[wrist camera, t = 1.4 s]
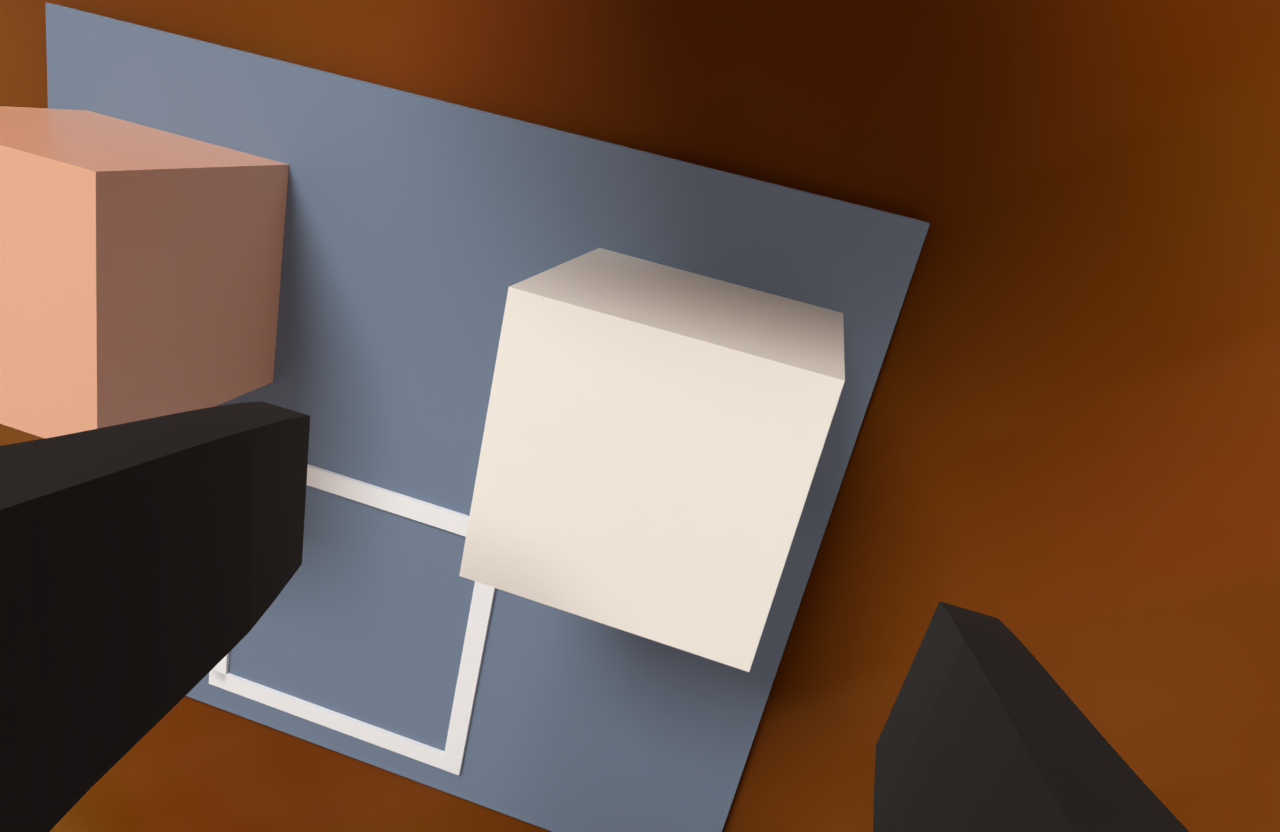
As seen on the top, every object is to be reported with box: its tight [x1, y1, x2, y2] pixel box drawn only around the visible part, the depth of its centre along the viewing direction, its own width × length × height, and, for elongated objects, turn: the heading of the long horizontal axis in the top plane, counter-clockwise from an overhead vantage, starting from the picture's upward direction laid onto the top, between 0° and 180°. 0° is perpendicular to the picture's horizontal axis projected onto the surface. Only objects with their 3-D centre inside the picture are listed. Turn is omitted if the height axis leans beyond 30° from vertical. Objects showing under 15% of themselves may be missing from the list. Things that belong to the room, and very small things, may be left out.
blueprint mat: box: [45, 3, 930, 832], centre depth 20 cm, size 17×19×1 cm
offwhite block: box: [459, 248, 845, 672], centre depth 15 cm, size 5×5×5 cm
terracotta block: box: [0, 106, 289, 438], centre depth 17 cm, size 5×5×5 cm
